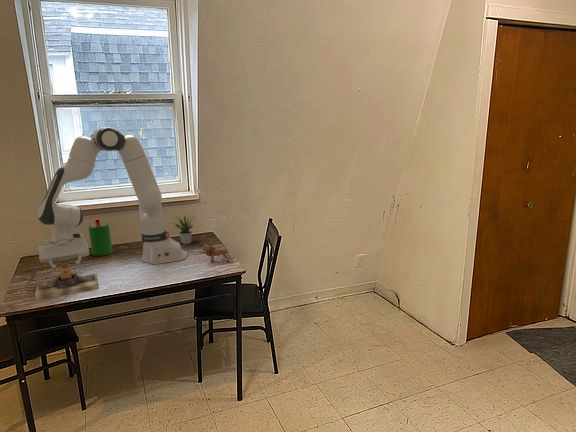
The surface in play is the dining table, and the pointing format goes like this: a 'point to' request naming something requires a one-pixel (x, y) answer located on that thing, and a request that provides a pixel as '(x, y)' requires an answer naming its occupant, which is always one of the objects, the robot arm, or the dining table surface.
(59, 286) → the base
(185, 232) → the house plant
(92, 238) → the motor
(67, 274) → the block
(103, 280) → the dining table surface
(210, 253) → the lion figurine
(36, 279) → the dining table surface
